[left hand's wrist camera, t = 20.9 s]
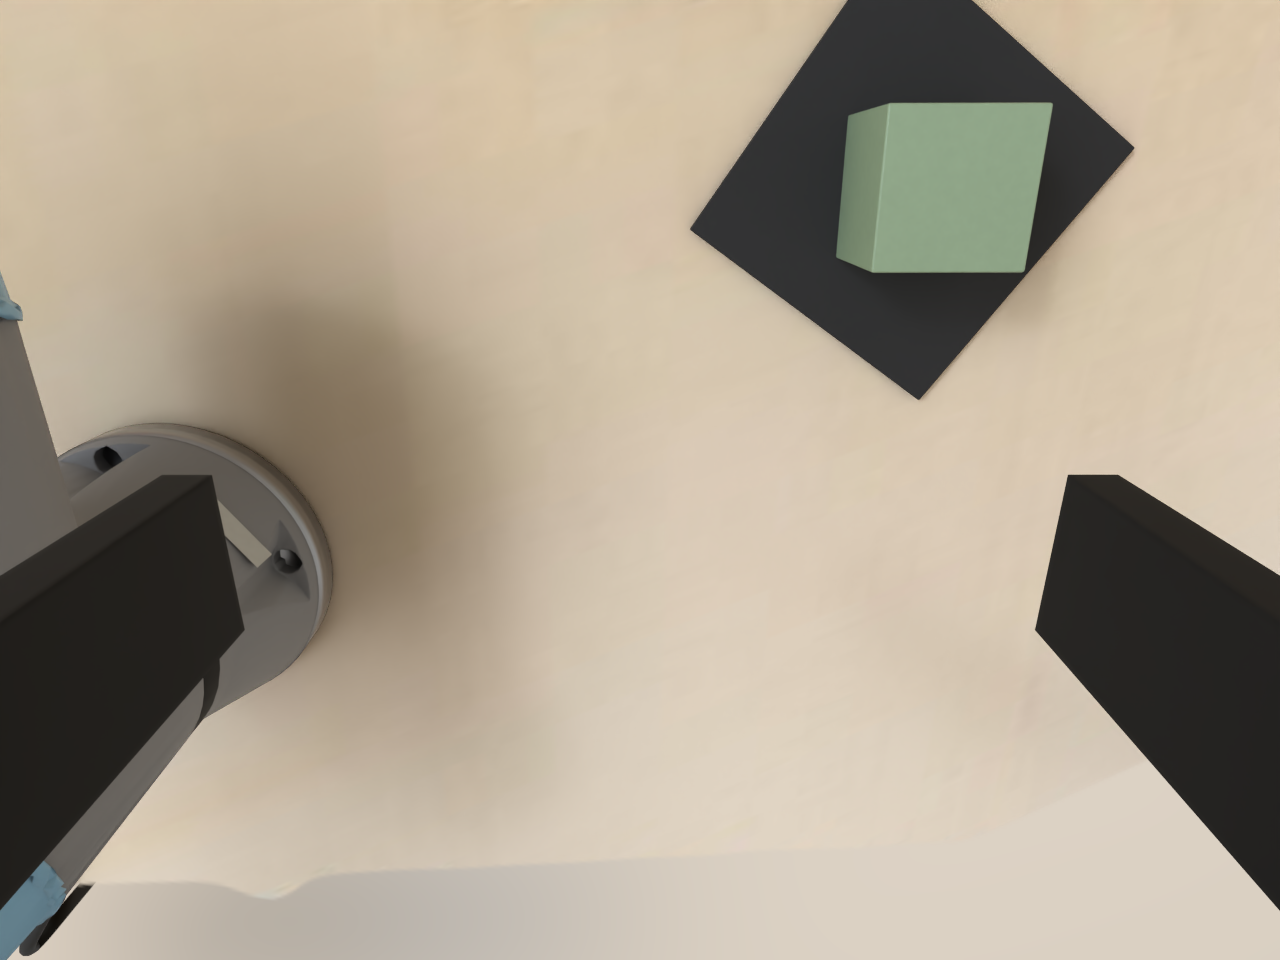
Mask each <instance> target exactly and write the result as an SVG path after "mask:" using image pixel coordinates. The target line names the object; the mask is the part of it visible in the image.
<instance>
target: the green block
mask: <svg viewBox="0 0 1280 960" xmlns="http://www.w3.org/2000/svg"><path fill="white" fill-rule="evenodd" d="M1052 107H1053V104H1052V103H889V104H885V105H882V106H878V107H875V108H872V109H868V110H865V111H862V112H858V113H855V114H851V115H849V116H848V124H847V135H846V147H845V159H844V170H843V182H842V194H841V205H840V217H839V228H838V240H837V252H836V257H837V258H839V259H841V260H843V261H846V262H848V263H851V264H853V265H856V266H858V267H860V268H863V269H865V270H868V271H870V272H873V273H978V272H1024V270H1025V265H1026V259H1027V253H1028V247H1029V242H1030V236H1031V230H1032V224H1033V218H1034V212H1035V207H1036V201H1037V195H1038V189H1039V183H1040V177H1041V172H1042V166H1043V160H1044V154H1045V148H1046V142H1047V137H1048V131H1049V125H1050V119H1051V113H1052Z"/></svg>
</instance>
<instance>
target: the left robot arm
mask: <svg viewBox="0 0 1280 960" xmlns="http://www.w3.org/2000/svg"><path fill="white" fill-rule="evenodd" d="M17 320H18V321H23V316H22V310H21V307H20V306H19V305H18V304H16V303H14V302H13V301H12V300H10V297H9V294H8V291H7V289H6V286H5V283H4V280H3V278H2V275H1V272H0V960H7V959H8V958H9V957H10V955H11V954H12V953H13V952H14V951H15V950H16V949H17V948H18V946H19V945H20V948H19V952H20V954H21V955H23V956H29V955H31V954H33V953H35V952H36V951H38V950H39V949H40V948H41V947H42V946H43V945H44V944H45V943H46V942H47V941H48V940H49V938H50V937H51V936H52V935H53V934H54V933H55V931H56V930H57V929H58V928H59V927H60V925H61V924H62V923H63V922H64V921H65V919H66V918H67V917H68V916H69V914H70V913H71V912H72V911H73V909H74V908H75V907H76V906H77V905H78V903H79V902H80V901H81V900H82V899H83V897H84V896H85V895H86V894H87V893H88V891H89V890H90V889H91V888H92V886H93V885H94V884H79V885H78V886H77V887H76V888H75V889H74V890H73V892H72V893H71V894H70V895H69V896H68V897H67V899H66V900H65V897H66V895H67V894H68V892H69V891H70V890H71V888H72V887H73V886H74V885H75V883H76V882H77V881H78V879H79V878H80V877H81V876H82V874H83V873H84V872H85V870H86V869H87V868H88V867H89V865H90V864H91V863H92V861H93V860H94V859H95V858H96V856H97V855H98V854H99V852H100V851H101V850H102V849H103V847H104V846H105V845H106V843H107V842H108V841H109V840H110V838H111V837H112V836H113V834H114V833H115V832H116V830H117V829H118V828H119V827H120V825H121V824H122V823H123V821H124V820H125V819H126V818H127V816H128V815H129V814H130V812H131V811H132V810H133V809H134V807H135V806H136V805H137V803H138V802H139V801H140V800H141V798H142V797H143V796H144V794H145V793H146V792H147V791H148V789H149V788H150V787H151V785H152V784H153V783H154V782H155V780H156V779H157V778H158V776H159V775H160V774H161V773H162V771H163V770H164V769H165V767H166V766H167V765H168V763H169V762H170V761H171V760H172V758H173V757H174V756H175V754H176V753H177V752H178V751H179V749H180V748H181V747H182V745H183V744H184V743H185V742H186V740H187V739H188V737H189V736H190V735H191V734H192V732H193V731H194V730H195V729H196V727H197V726H198V725H199V724H200V722H201V721H202V720H203V719H204V718H206V717H207V716H209V715H211V714H213V713H214V712H216V711H218V710H220V709H221V708H223V707H225V706H227V705H228V704H230V703H232V702H233V701H235V700H237V699H239V698H240V697H242V696H244V695H246V694H247V693H249V692H251V691H253V690H254V689H256V688H258V687H260V686H261V685H263V684H265V683H267V682H268V681H270V680H272V679H273V678H275V677H276V676H278V675H279V674H281V673H282V672H283V671H284V670H286V669H287V668H288V667H289V666H290V665H291V664H292V663H293V662H294V661H295V660H296V659H297V658H298V657H299V655H300V654H301V653H302V651H303V650H304V648H305V647H306V646H307V644H308V643H309V641H310V640H311V639H312V637H313V636H314V634H315V633H316V632H317V630H318V628H319V627H320V625H321V623H322V621H323V619H324V617H325V614H326V612H327V609H328V606H329V602H330V598H331V591H332V577H333V574H332V562H331V557H330V551H329V548H328V544H327V541H326V538H325V535H324V533H323V530H322V528H321V525H320V523H319V521H318V520H317V518H316V516H315V514H314V512H313V510H312V509H311V507H310V506H309V504H308V503H307V501H306V500H305V499H304V497H303V496H302V495H301V493H300V492H299V491H298V490H297V488H296V487H295V486H294V485H293V484H292V483H291V482H290V481H289V480H288V479H287V478H286V477H285V476H284V475H283V474H282V473H281V472H280V471H279V470H277V469H276V468H275V467H274V466H273V465H271V464H270V463H269V462H267V461H266V460H265V459H263V458H262V457H261V456H259V455H257V454H256V453H254V452H253V451H251V450H250V449H248V448H246V447H244V446H242V445H240V444H239V443H237V442H235V441H232V440H230V439H228V438H225V437H223V436H221V435H218V434H215V433H212V432H209V431H206V430H202V429H198V428H194V427H189V426H183V425H177V424H163V423H153V424H139V425H131V426H127V427H122V428H118V429H115V430H112V431H109V432H106V433H104V434H102V435H100V436H97V437H95V438H93V439H91V440H89V441H87V442H85V443H83V444H81V445H79V446H77V447H75V448H72V449H70V450H68V451H67V452H65V453H64V454H62V455H61V456H59V457H57V455H56V452H55V448H54V445H53V442H52V438H51V435H50V431H49V428H48V425H47V421H46V418H45V415H44V411H43V408H42V405H41V401H40V398H39V394H38V391H37V388H36V384H35V381H34V378H33V374H32V371H31V367H30V364H29V361H28V357H27V354H26V351H25V347H24V344H23V340H22V337H21V334H20V330H19V326H18V323H17ZM1035 630H1036V632H1037V633H1038V634H1039V635H1040V636H1041V637H1042V638H1043V640H1044V641H1045V642H1046V643H1047V644H1048V645H1049V646H1050V648H1051V649H1052V650H1053V651H1054V652H1055V653H1056V654H1057V656H1058V657H1059V658H1060V659H1061V660H1062V661H1063V663H1064V664H1065V665H1066V666H1067V667H1068V668H1069V669H1070V671H1071V672H1072V673H1073V674H1074V675H1075V676H1076V677H1077V679H1078V680H1079V681H1080V682H1081V683H1082V684H1083V685H1084V687H1085V688H1086V689H1087V690H1088V691H1089V692H1090V693H1091V695H1092V696H1093V697H1094V698H1095V699H1096V700H1097V702H1098V703H1099V704H1100V705H1101V706H1102V707H1103V708H1104V710H1105V711H1106V712H1107V713H1108V714H1109V715H1110V716H1111V718H1112V719H1113V720H1114V721H1115V722H1116V723H1117V724H1118V726H1119V727H1120V728H1121V729H1122V730H1123V731H1124V732H1125V734H1126V735H1127V736H1128V737H1129V738H1130V739H1131V740H1132V742H1133V743H1134V744H1135V745H1136V746H1137V747H1138V749H1139V750H1140V751H1141V752H1142V753H1143V754H1144V755H1145V757H1146V758H1147V759H1148V760H1149V761H1150V762H1151V763H1152V765H1153V766H1154V767H1155V768H1156V769H1157V770H1158V771H1159V772H1160V774H1161V775H1162V776H1163V777H1164V778H1165V779H1166V781H1167V782H1168V783H1169V784H1170V785H1171V786H1172V788H1173V789H1174V790H1175V791H1176V792H1177V793H1178V794H1179V796H1180V797H1181V798H1182V799H1183V800H1184V801H1185V802H1186V804H1187V805H1188V806H1189V807H1190V808H1191V809H1192V810H1193V812H1194V813H1195V814H1196V815H1197V816H1198V817H1199V818H1200V820H1201V821H1202V822H1203V823H1204V824H1205V825H1206V826H1207V828H1208V829H1209V830H1210V831H1211V832H1212V833H1213V834H1214V836H1215V837H1216V838H1217V839H1218V840H1219V841H1220V843H1221V844H1222V845H1223V846H1224V847H1225V848H1226V849H1227V851H1228V852H1229V853H1230V854H1231V855H1232V856H1233V857H1234V859H1235V860H1236V861H1237V862H1238V863H1239V864H1240V865H1241V867H1242V868H1243V869H1244V870H1245V871H1246V872H1247V874H1248V875H1249V876H1250V877H1251V878H1252V879H1253V880H1254V882H1255V883H1256V884H1257V885H1258V886H1259V887H1260V888H1261V890H1262V891H1263V892H1264V893H1265V894H1266V895H1267V896H1268V898H1269V899H1270V900H1271V901H1272V902H1273V903H1274V904H1275V906H1276V907H1277V908H1278V909H1279V910H1280V575H1278V574H1276V573H1275V572H1273V571H1271V570H1270V569H1268V568H1267V567H1265V566H1263V565H1262V564H1260V563H1259V562H1257V561H1255V560H1254V559H1252V558H1251V557H1249V556H1247V555H1246V554H1244V553H1243V552H1241V551H1239V550H1238V549H1236V548H1235V547H1233V546H1231V545H1230V544H1228V543H1227V542H1225V541H1223V540H1222V539H1220V538H1219V537H1217V536H1215V535H1214V534H1212V533H1211V532H1209V531H1207V530H1206V529H1204V528H1203V527H1201V526H1199V525H1198V524H1196V523H1194V522H1193V521H1191V520H1190V519H1188V518H1186V517H1185V516H1183V515H1182V514H1180V513H1178V512H1177V511H1175V510H1174V509H1172V508H1170V507H1169V506H1167V505H1166V504H1164V503H1162V502H1161V501H1159V500H1158V499H1156V498H1154V497H1153V496H1151V495H1150V494H1148V493H1146V492H1145V491H1143V490H1142V489H1140V488H1138V487H1137V486H1135V485H1134V484H1132V483H1130V482H1129V481H1127V480H1125V479H1124V478H1122V477H1121V476H1119V475H1068V477H1067V482H1066V487H1065V492H1064V496H1063V501H1062V506H1061V510H1060V515H1059V520H1058V525H1057V529H1056V534H1055V539H1054V543H1053V548H1052V553H1051V558H1050V562H1049V567H1048V572H1047V576H1046V581H1045V586H1044V591H1043V595H1042V600H1041V605H1040V609H1039V614H1038V619H1037V624H1036V628H1035ZM64 900H65V901H64ZM63 901H64V902H63ZM61 904H62V905H61Z"/></svg>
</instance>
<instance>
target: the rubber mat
mask: <svg viewBox="0 0 1280 960" xmlns="http://www.w3.org/2000/svg"><path fill="white" fill-rule="evenodd" d="M889 103H1052V104H1053V107H1052V113H1051V119H1050V125H1049V131H1048V137H1047V142H1046V148H1045V154H1044V160H1043V166H1042V172H1041V177H1040V183H1039V189H1038V195H1037V201H1036V207H1035V212H1034V218H1033V224H1032V230H1031V236H1030V242H1029V247H1028V253H1027V259H1026V265H1025V270H1024V272H978V273H873V272H870V271H868V270H865V269H863V268H860V267H858V266H856V265H853V264H851V263H848V262H846V261H843V260H841V259H839V258H837V257H836V252H837V240H838V228H839V217H840V205H841V194H842V182H843V170H844V159H845V147H846V135H847V124H848V116H849V115H851V114H855V113H858V112H862V111H865V110H868V109H872V108H875V107H878V106H882V105H885V104H889ZM1133 149H1134V147H1133V146H1132V145H1131V144H1130V143H1129V142H1128V141H1127V140H1126V139H1124V138H1123V137H1122V136H1121V135H1120V134H1119V133H1118V132H1117V131H1116V130H1114V129H1113V128H1112V127H1111V126H1110V125H1109V124H1108V123H1107V122H1106V121H1105V120H1103V119H1102V118H1101V117H1100V116H1099V115H1098V114H1097V113H1096V112H1095V111H1093V110H1092V109H1091V108H1090V107H1089V106H1088V105H1087V104H1086V103H1085V102H1084V101H1082V100H1081V99H1080V98H1079V97H1078V96H1077V95H1076V94H1075V93H1074V92H1073V91H1071V90H1070V89H1069V88H1068V87H1067V86H1066V85H1065V84H1064V83H1063V82H1061V81H1060V80H1059V79H1058V78H1057V77H1056V76H1055V75H1054V74H1053V73H1052V72H1050V71H1049V70H1048V69H1047V68H1046V67H1045V66H1044V65H1043V64H1042V63H1041V62H1039V61H1038V60H1037V59H1036V58H1035V57H1034V56H1033V55H1032V54H1031V53H1029V52H1028V51H1027V50H1026V49H1025V48H1024V47H1023V46H1022V45H1021V44H1020V43H1018V42H1017V41H1016V40H1015V39H1014V38H1013V37H1012V36H1011V35H1010V34H1009V33H1007V32H1006V31H1005V30H1004V29H1003V28H1002V27H1001V26H1000V25H999V24H997V23H996V22H995V21H994V20H993V19H992V18H991V17H990V16H989V15H988V14H986V13H985V12H984V11H983V10H982V9H981V8H980V7H979V6H978V5H976V4H975V3H974V2H973V1H972V0H848V1H847V2H846V4H845V5H844V7H843V8H842V9H841V11H840V12H839V14H838V15H837V17H836V18H835V20H834V21H833V22H832V24H831V25H830V27H829V28H828V30H827V31H826V33H825V34H824V36H823V37H822V38H821V40H820V41H819V43H818V44H817V46H816V47H815V49H814V50H813V51H812V53H811V54H810V56H809V57H808V59H807V60H806V62H805V63H804V65H803V66H802V67H801V69H800V70H799V72H798V73H797V75H796V76H795V78H794V79H793V80H792V82H791V83H790V85H789V86H788V88H787V89H786V91H785V92H784V93H783V95H782V96H781V98H780V99H779V101H778V102H777V104H776V105H775V107H774V108H773V109H772V111H771V112H770V114H769V115H768V117H767V118H766V120H765V121H764V122H763V124H762V125H761V127H760V128H759V130H758V131H757V133H756V134H755V136H754V137H753V138H752V140H751V141H750V143H749V144H748V146H747V147H746V149H745V150H744V151H743V153H742V154H741V156H740V157H739V159H738V160H737V162H736V163H735V165H734V166H733V167H732V169H731V170H730V172H729V173H728V175H727V176H726V178H725V179H724V180H723V182H722V183H721V185H720V186H719V188H718V189H717V191H716V192H715V194H714V195H713V196H712V198H711V199H710V201H709V202H708V204H707V205H706V207H705V208H704V209H703V211H702V212H701V214H700V215H699V217H698V218H697V220H696V221H695V223H694V224H693V225H692V227H691V228H690V229H691V231H693V232H694V233H695V234H697V235H698V236H699V237H701V238H702V239H703V240H705V241H706V242H707V243H709V244H710V245H711V246H713V247H714V248H716V249H717V250H718V251H720V252H721V253H722V254H724V255H725V256H726V257H728V258H729V259H730V260H732V261H733V262H734V263H736V264H737V265H738V266H740V267H741V268H742V269H744V270H745V271H746V272H748V273H749V274H750V275H752V276H753V277H754V278H756V279H757V280H758V281H760V282H761V283H762V284H764V285H765V286H766V287H768V288H769V289H770V290H772V291H773V292H774V293H776V294H777V295H779V296H780V297H781V298H783V299H784V300H785V301H787V302H788V303H789V304H791V305H792V306H793V307H795V308H796V309H797V310H799V311H800V312H801V313H803V314H804V315H805V316H807V317H808V318H809V319H811V320H812V321H813V322H815V323H816V324H817V325H819V326H820V327H821V328H823V329H824V330H825V331H827V332H828V333H829V334H831V335H832V336H833V337H835V338H836V339H837V340H839V341H840V342H841V343H843V344H844V345H846V346H847V347H848V348H850V349H851V350H852V351H854V352H855V353H856V354H858V355H859V356H860V357H862V358H863V359H864V360H866V361H867V362H868V363H870V364H871V365H872V366H874V367H875V368H876V369H878V370H879V371H880V372H882V373H883V374H884V375H886V376H887V377H888V378H890V379H891V380H892V381H894V382H895V383H896V384H898V385H899V386H900V387H902V388H903V389H904V390H906V391H907V392H909V393H910V394H911V395H913V396H914V397H915V398H917V399H918V400H919V399H920V398H921V397H922V396H923V395H924V394H925V392H926V391H927V390H928V389H929V388H930V386H931V385H932V384H933V383H934V382H935V381H936V379H937V378H938V377H939V376H940V375H941V374H942V372H943V371H944V370H945V369H946V368H947V367H948V365H949V364H950V363H951V362H952V361H953V360H954V358H955V357H956V356H957V355H958V354H959V353H960V351H961V350H962V349H963V348H964V347H965V346H966V344H967V343H968V342H969V341H970V340H971V339H972V337H973V336H974V335H975V334H976V333H977V332H978V330H979V329H980V328H981V327H982V326H983V325H984V323H985V322H986V321H987V320H988V319H989V318H990V316H991V315H992V314H993V313H994V312H995V311H996V309H997V308H998V307H999V306H1000V305H1001V304H1002V302H1003V301H1004V300H1005V299H1006V298H1007V297H1008V295H1009V294H1010V293H1011V292H1012V291H1013V290H1014V288H1015V287H1016V286H1017V285H1018V284H1019V282H1020V281H1021V280H1022V279H1023V278H1024V277H1025V275H1026V274H1027V273H1028V272H1029V271H1030V270H1031V268H1032V267H1033V266H1034V265H1035V264H1036V263H1037V261H1038V260H1039V259H1040V258H1041V257H1042V256H1043V254H1044V253H1045V252H1046V251H1047V250H1048V249H1049V247H1050V246H1051V245H1052V244H1053V243H1054V242H1055V240H1056V239H1057V238H1058V237H1059V236H1060V235H1061V233H1062V232H1063V231H1064V230H1065V229H1066V228H1067V226H1068V225H1069V224H1070V223H1071V222H1072V221H1073V219H1074V218H1075V217H1076V216H1077V215H1078V214H1079V212H1080V211H1081V210H1082V209H1083V208H1084V207H1085V205H1086V204H1087V203H1088V202H1089V201H1090V200H1091V198H1092V197H1093V196H1094V195H1095V194H1096V193H1097V191H1098V190H1099V189H1100V188H1101V187H1102V186H1103V184H1104V183H1105V182H1106V181H1107V180H1108V178H1109V177H1110V176H1111V175H1112V174H1113V173H1114V171H1115V170H1116V169H1117V168H1118V167H1119V166H1120V164H1121V163H1122V162H1123V161H1124V160H1125V159H1126V157H1127V156H1128V155H1129V154H1130V153H1131V152H1132V150H1133Z"/></svg>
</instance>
